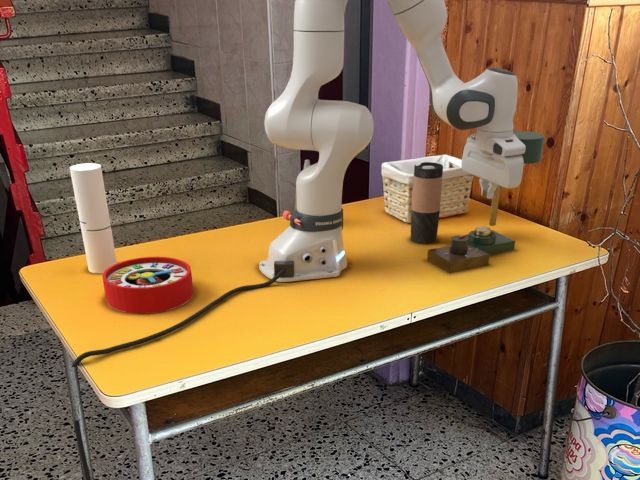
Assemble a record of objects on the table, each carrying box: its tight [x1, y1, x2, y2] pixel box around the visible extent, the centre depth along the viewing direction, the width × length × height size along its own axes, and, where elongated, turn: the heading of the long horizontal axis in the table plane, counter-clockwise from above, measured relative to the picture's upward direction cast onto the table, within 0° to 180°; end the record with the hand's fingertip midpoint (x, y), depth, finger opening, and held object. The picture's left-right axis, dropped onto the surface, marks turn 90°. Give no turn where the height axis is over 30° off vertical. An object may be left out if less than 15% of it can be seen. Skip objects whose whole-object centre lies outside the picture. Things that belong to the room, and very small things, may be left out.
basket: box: [381, 154, 475, 224], centre depth 220 cm, size 24×16×15 cm
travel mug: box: [410, 162, 443, 245], centre depth 198 cm, size 8×8×20 cm
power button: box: [474, 225, 492, 237], centre depth 193 cm, size 4×4×2 cm
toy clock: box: [101, 256, 195, 314], centre depth 170 cm, size 20×6×20 cm
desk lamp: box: [488, 130, 546, 227], centre depth 196 cm, size 13×10×22 cm
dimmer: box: [426, 244, 491, 274], centre depth 187 cm, size 12×10×3 cm
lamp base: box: [461, 229, 516, 256], centre depth 196 cm, size 12×10×4 cm
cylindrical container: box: [69, 162, 118, 274], centre depth 180 cm, size 7×7×25 cm
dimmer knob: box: [449, 234, 469, 255], centre depth 185 cm, size 4×4×4 cm
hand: (487, 197), depth 188 cm, fingers closed
